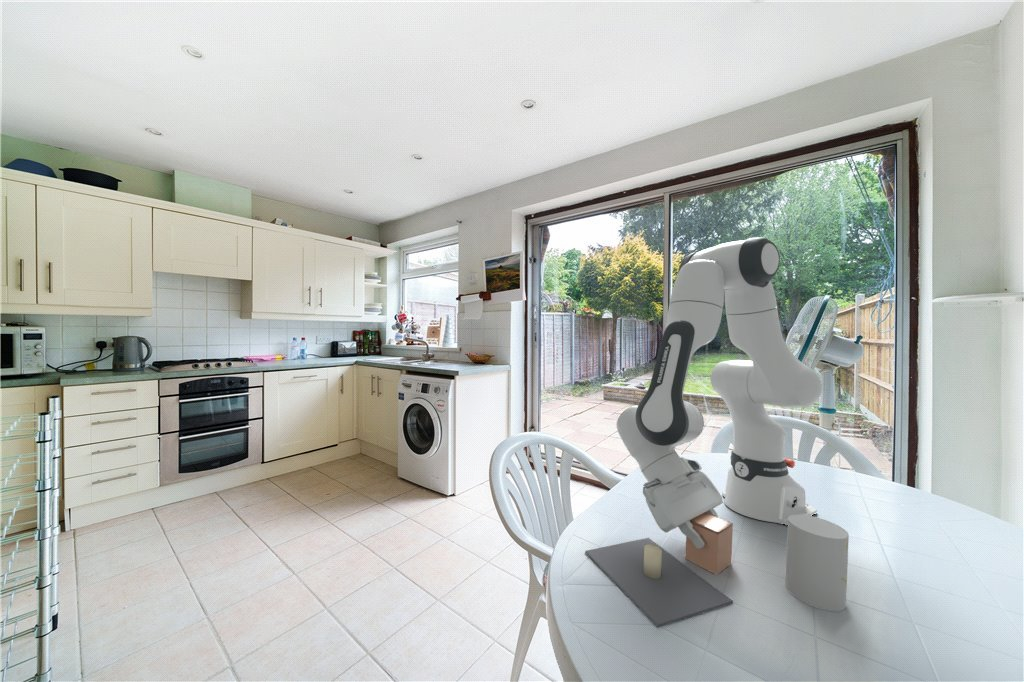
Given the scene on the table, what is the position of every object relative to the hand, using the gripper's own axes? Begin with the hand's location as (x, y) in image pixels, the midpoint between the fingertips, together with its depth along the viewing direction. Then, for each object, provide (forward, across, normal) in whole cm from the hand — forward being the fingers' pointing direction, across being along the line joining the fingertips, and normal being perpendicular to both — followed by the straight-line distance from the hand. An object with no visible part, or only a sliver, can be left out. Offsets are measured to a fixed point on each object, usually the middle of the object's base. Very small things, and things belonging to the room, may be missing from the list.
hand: (712, 540), depth 72 cm
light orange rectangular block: (+3, 0, +4) cm, 4 cm away
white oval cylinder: (+14, +6, -7) cm, 16 cm away
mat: (0, -14, +6) cm, 15 cm away
